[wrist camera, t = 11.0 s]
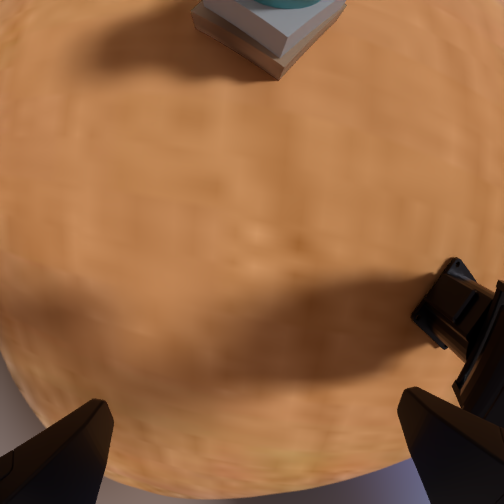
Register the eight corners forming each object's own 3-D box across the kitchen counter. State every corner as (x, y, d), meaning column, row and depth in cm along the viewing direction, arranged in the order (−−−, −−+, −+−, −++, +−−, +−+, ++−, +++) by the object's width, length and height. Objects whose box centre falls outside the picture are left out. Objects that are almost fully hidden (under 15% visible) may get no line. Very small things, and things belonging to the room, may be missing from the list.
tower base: (334, 23, 16) (347, 5, 13) (277, 82, 17) (284, 67, 14) (257, -23, 15) (260, -46, 12) (196, 31, 16) (190, 11, 13)
